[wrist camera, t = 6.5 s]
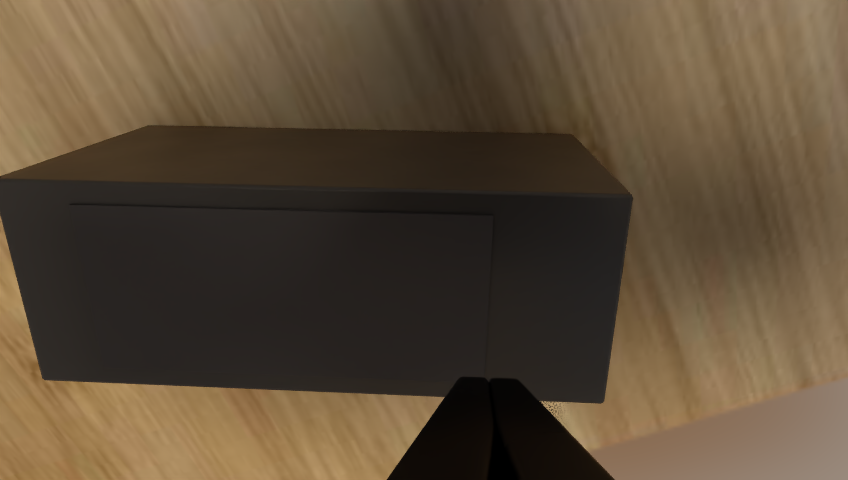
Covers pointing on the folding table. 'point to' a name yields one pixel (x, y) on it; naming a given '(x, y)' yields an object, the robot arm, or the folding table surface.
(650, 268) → the folding table surface
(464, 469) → the robot arm
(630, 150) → the folding table surface
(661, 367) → the folding table surface
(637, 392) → the folding table surface
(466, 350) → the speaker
